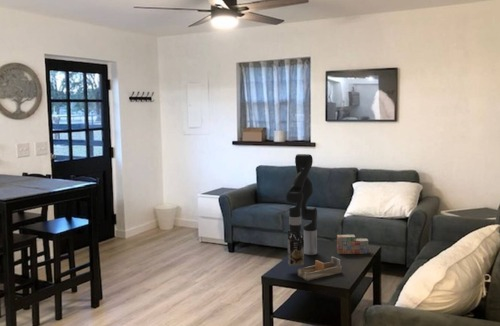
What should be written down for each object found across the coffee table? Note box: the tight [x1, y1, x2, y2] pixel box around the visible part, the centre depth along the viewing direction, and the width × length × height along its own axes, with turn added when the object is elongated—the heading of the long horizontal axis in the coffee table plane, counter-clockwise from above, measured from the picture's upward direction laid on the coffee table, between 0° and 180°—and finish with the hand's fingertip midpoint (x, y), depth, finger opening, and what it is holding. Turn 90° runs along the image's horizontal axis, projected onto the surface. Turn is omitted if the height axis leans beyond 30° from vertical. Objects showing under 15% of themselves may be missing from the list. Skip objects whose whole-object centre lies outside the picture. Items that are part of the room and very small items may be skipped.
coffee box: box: [287, 238, 305, 267], centre depth 295 cm, size 9×6×16 cm
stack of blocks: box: [336, 234, 370, 255], centre depth 332 cm, size 21×6×12 cm, turn 86°
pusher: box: [314, 259, 325, 271], centre depth 291 cm, size 7×1×7 cm, turn 29°
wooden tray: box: [297, 256, 343, 282], centre depth 291 cm, size 10×26×8 cm, turn 119°
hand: (295, 248), depth 295 cm, fingers closed on coffee box, 7 cm apart
